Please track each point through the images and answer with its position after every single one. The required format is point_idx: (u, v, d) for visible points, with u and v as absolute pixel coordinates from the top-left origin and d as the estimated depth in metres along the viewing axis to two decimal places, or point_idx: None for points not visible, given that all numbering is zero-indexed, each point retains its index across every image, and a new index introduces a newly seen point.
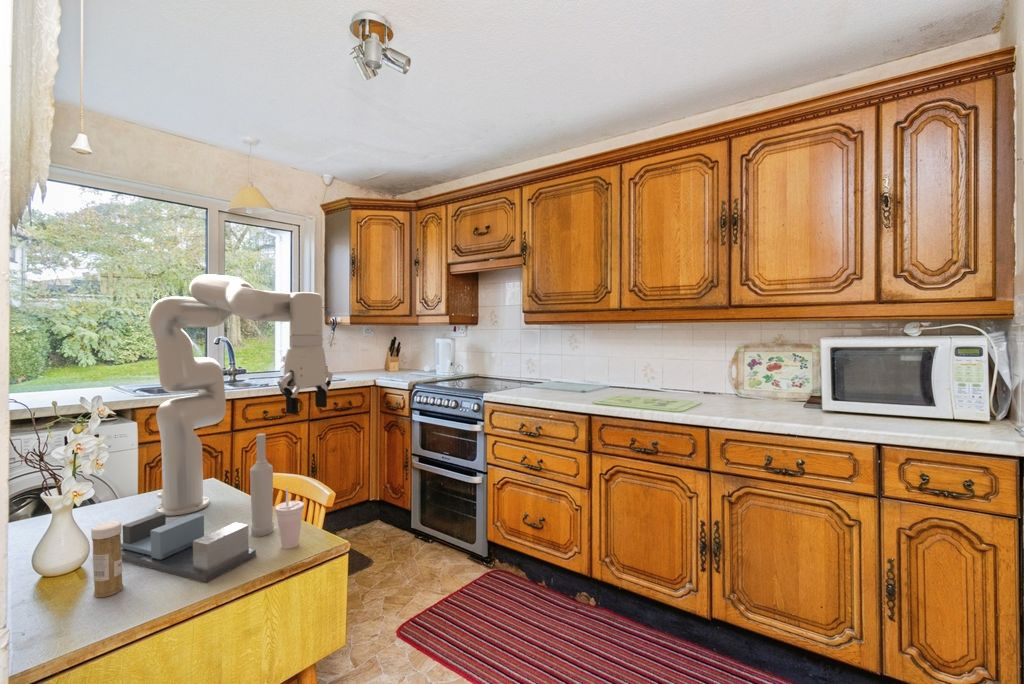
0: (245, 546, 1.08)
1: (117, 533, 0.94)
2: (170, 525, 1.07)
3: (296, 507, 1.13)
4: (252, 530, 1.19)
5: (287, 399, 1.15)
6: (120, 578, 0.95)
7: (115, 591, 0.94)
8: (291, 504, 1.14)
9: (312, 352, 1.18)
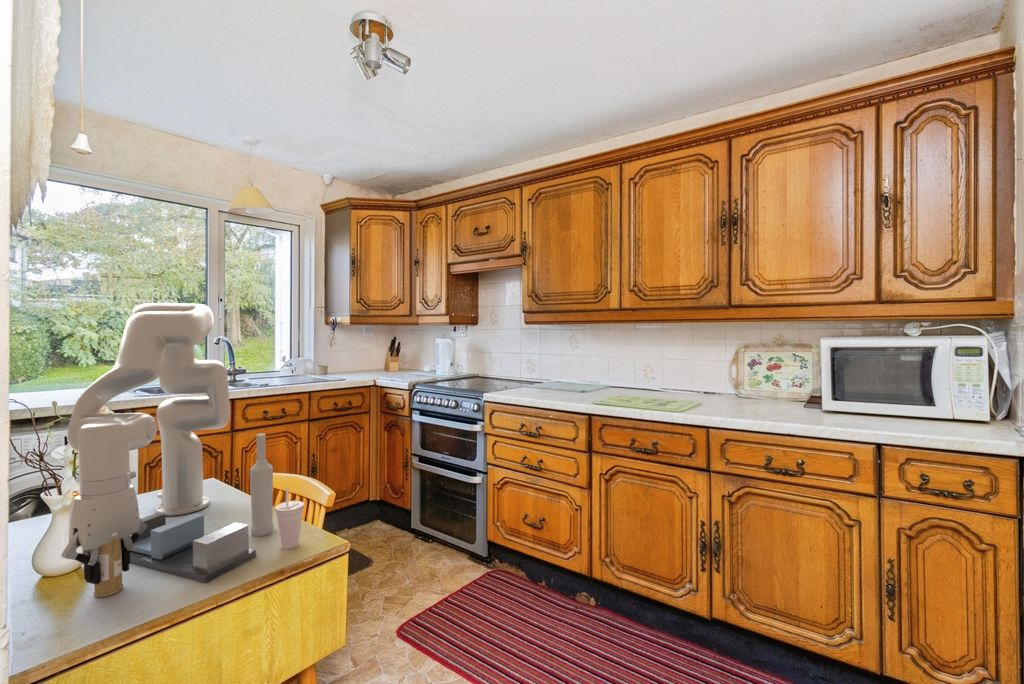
0: (245, 546, 1.08)
1: None
2: (170, 525, 1.07)
3: (296, 507, 1.13)
4: (252, 530, 1.19)
5: (85, 566, 0.91)
6: (120, 578, 0.95)
7: (115, 591, 0.94)
8: (291, 504, 1.14)
9: (110, 500, 0.92)
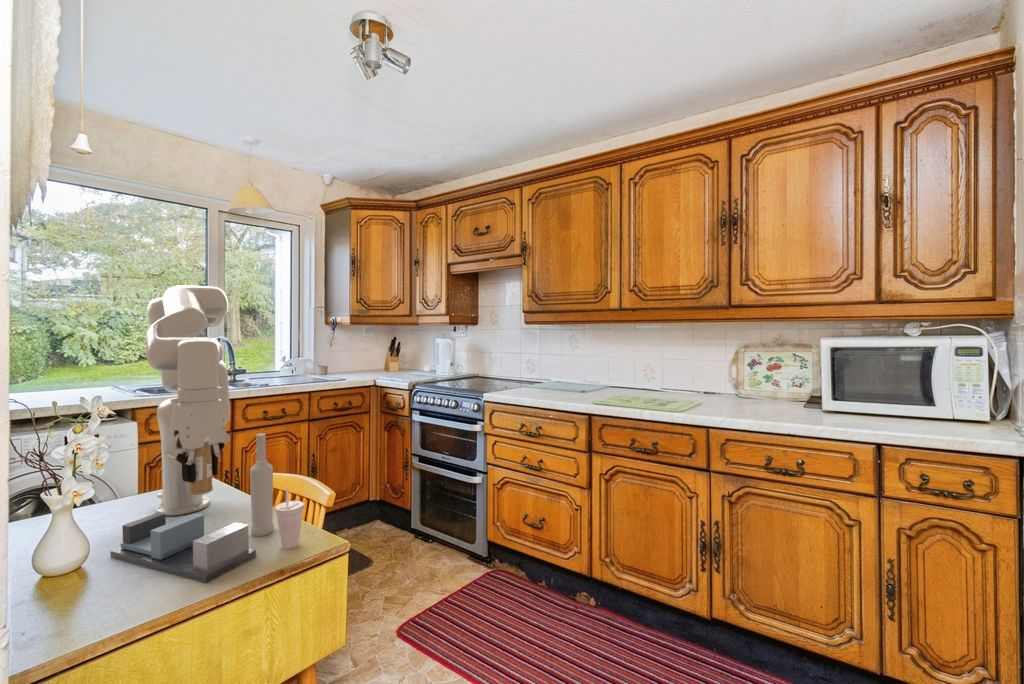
0: (245, 546, 1.08)
1: (209, 439, 1.05)
2: (170, 525, 1.07)
3: (296, 507, 1.13)
4: (252, 530, 1.19)
5: (183, 466, 1.02)
6: (211, 480, 1.06)
7: (207, 491, 1.05)
8: (291, 504, 1.14)
9: (204, 408, 1.03)
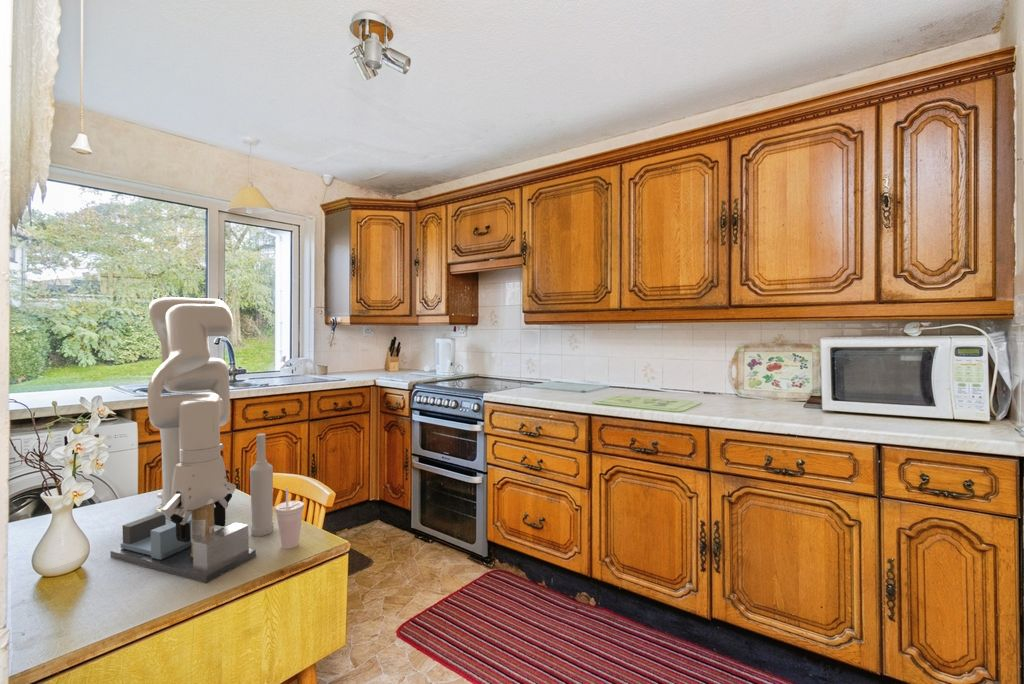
0: (245, 546, 1.08)
1: (212, 502, 1.06)
2: (170, 525, 1.07)
3: (296, 507, 1.13)
4: (252, 530, 1.19)
5: (177, 525, 1.01)
6: None
7: None
8: (291, 504, 1.14)
9: (205, 467, 1.04)
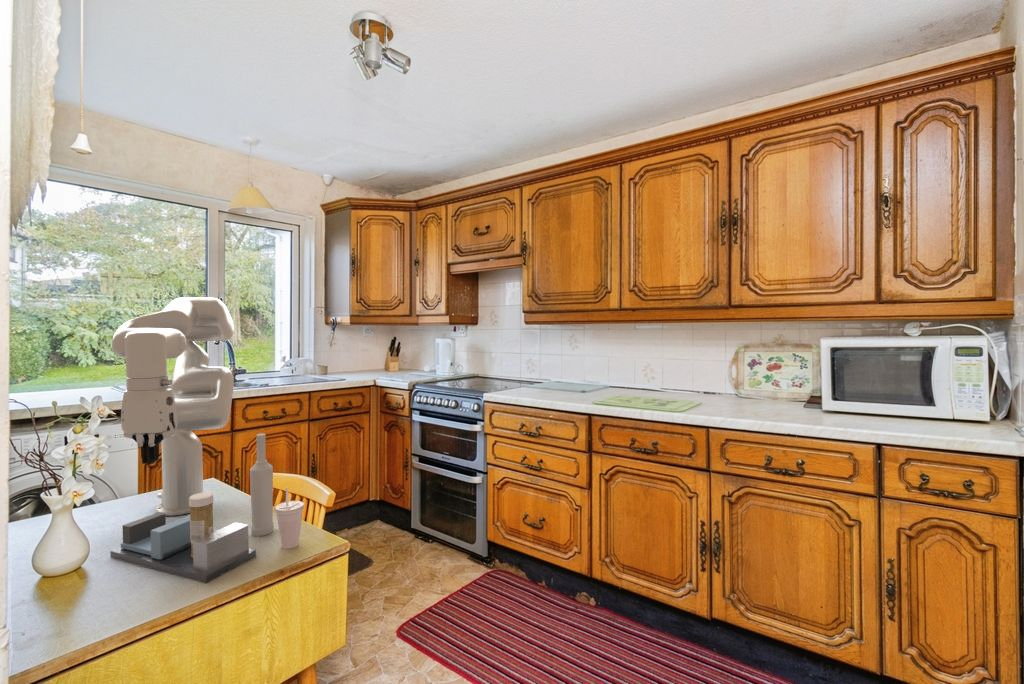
0: (245, 546, 1.08)
1: (211, 503, 1.06)
2: (170, 525, 1.07)
3: (296, 507, 1.13)
4: (252, 530, 1.19)
5: None
6: None
7: None
8: (291, 504, 1.14)
9: (136, 397, 1.08)
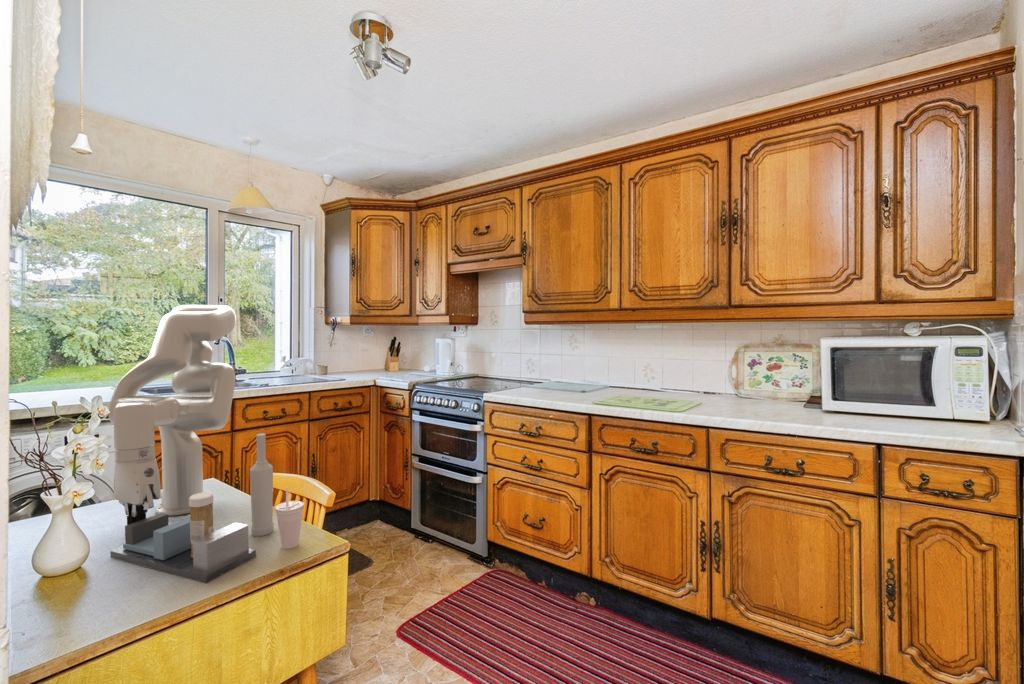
0: (245, 546, 1.08)
1: (211, 503, 1.06)
2: (173, 526, 1.07)
3: (296, 507, 1.13)
4: (252, 530, 1.19)
5: None
6: None
7: None
8: (291, 504, 1.14)
9: (121, 467, 1.11)
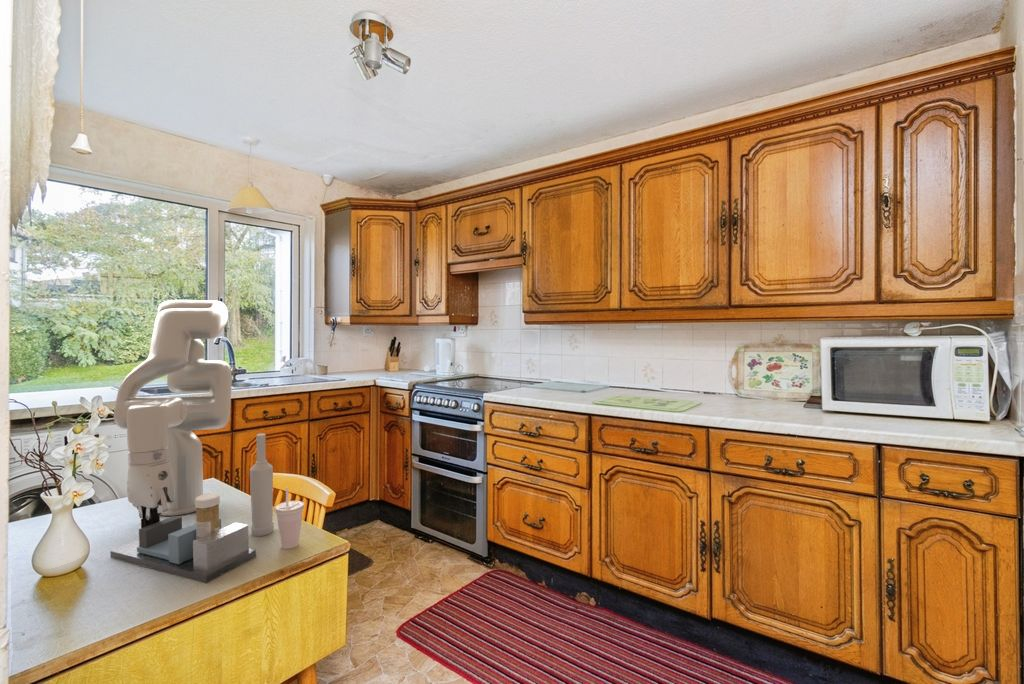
0: (245, 546, 1.08)
1: (217, 504, 1.05)
2: (188, 529, 1.05)
3: (296, 507, 1.13)
4: (252, 530, 1.19)
5: None
6: None
7: None
8: (291, 504, 1.14)
9: (135, 469, 1.09)
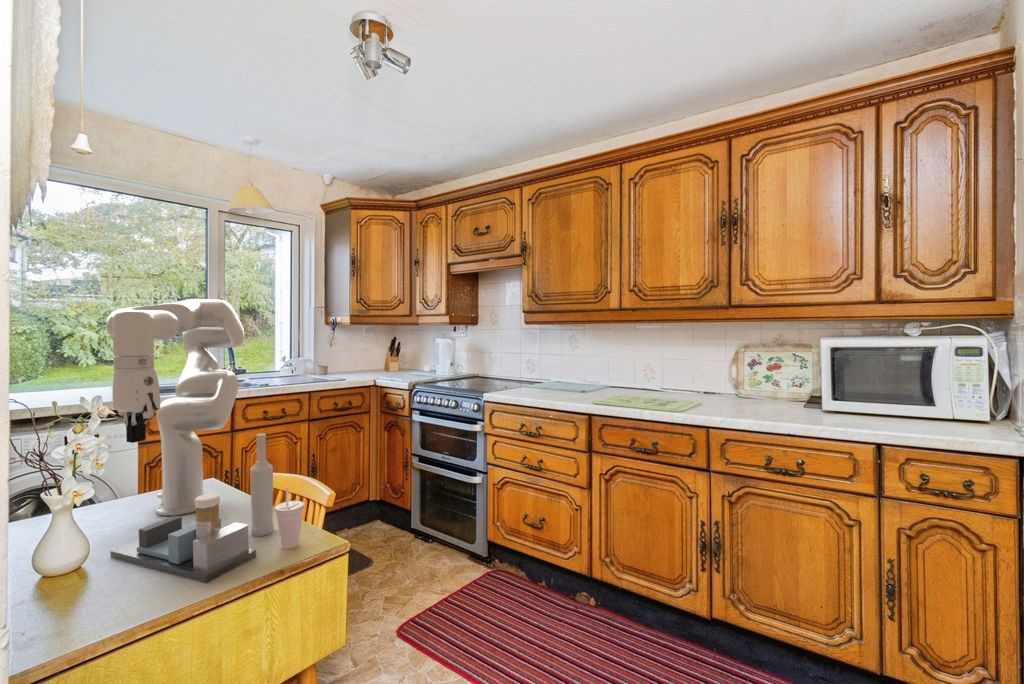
0: (245, 546, 1.08)
1: (217, 504, 1.05)
2: (187, 529, 1.05)
3: (296, 507, 1.13)
4: (252, 530, 1.19)
5: None
6: None
7: None
8: (291, 504, 1.14)
9: (120, 375, 1.10)
